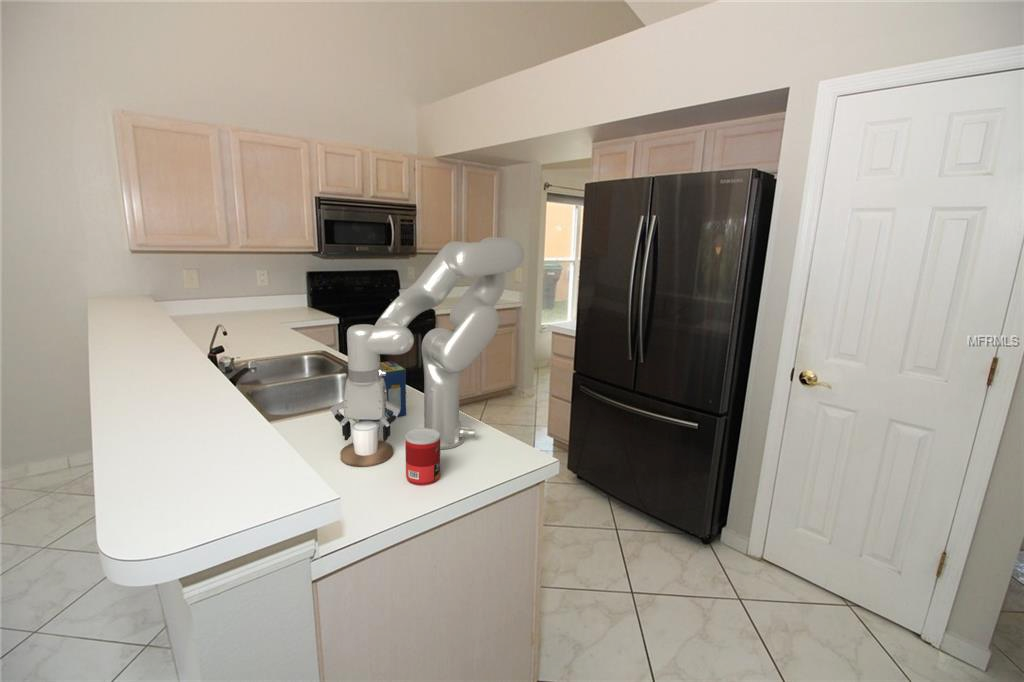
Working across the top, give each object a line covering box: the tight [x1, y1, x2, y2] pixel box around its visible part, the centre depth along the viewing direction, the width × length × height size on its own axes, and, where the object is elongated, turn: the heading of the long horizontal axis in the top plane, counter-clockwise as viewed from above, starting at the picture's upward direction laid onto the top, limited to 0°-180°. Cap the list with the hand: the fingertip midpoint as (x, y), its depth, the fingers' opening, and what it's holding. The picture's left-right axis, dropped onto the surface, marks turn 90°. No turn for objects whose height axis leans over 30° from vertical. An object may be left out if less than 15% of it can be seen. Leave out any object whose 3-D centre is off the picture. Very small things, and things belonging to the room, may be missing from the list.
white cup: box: [351, 420, 380, 456], centre depth 122 cm, size 7×7×7 cm
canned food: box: [404, 427, 441, 486], centre depth 112 cm, size 8×8×11 cm
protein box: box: [345, 360, 407, 423], centre depth 147 cm, size 10×15×16 cm
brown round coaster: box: [339, 439, 394, 468], centre depth 123 cm, size 13×13×1 cm
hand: (366, 438), depth 122 cm, fingers open, 9 cm apart
